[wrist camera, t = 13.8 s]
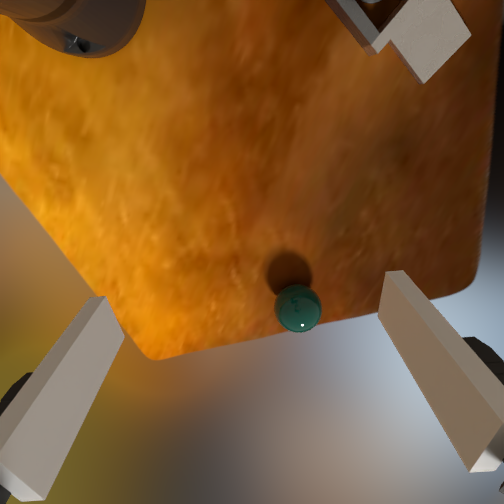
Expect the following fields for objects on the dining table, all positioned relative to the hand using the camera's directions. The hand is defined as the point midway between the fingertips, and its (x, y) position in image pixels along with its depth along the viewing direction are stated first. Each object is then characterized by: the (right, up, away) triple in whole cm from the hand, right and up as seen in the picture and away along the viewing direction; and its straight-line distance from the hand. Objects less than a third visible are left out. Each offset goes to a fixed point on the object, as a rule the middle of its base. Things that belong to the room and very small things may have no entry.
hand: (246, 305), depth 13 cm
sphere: (+8, -5, +37) cm, 38 cm away
